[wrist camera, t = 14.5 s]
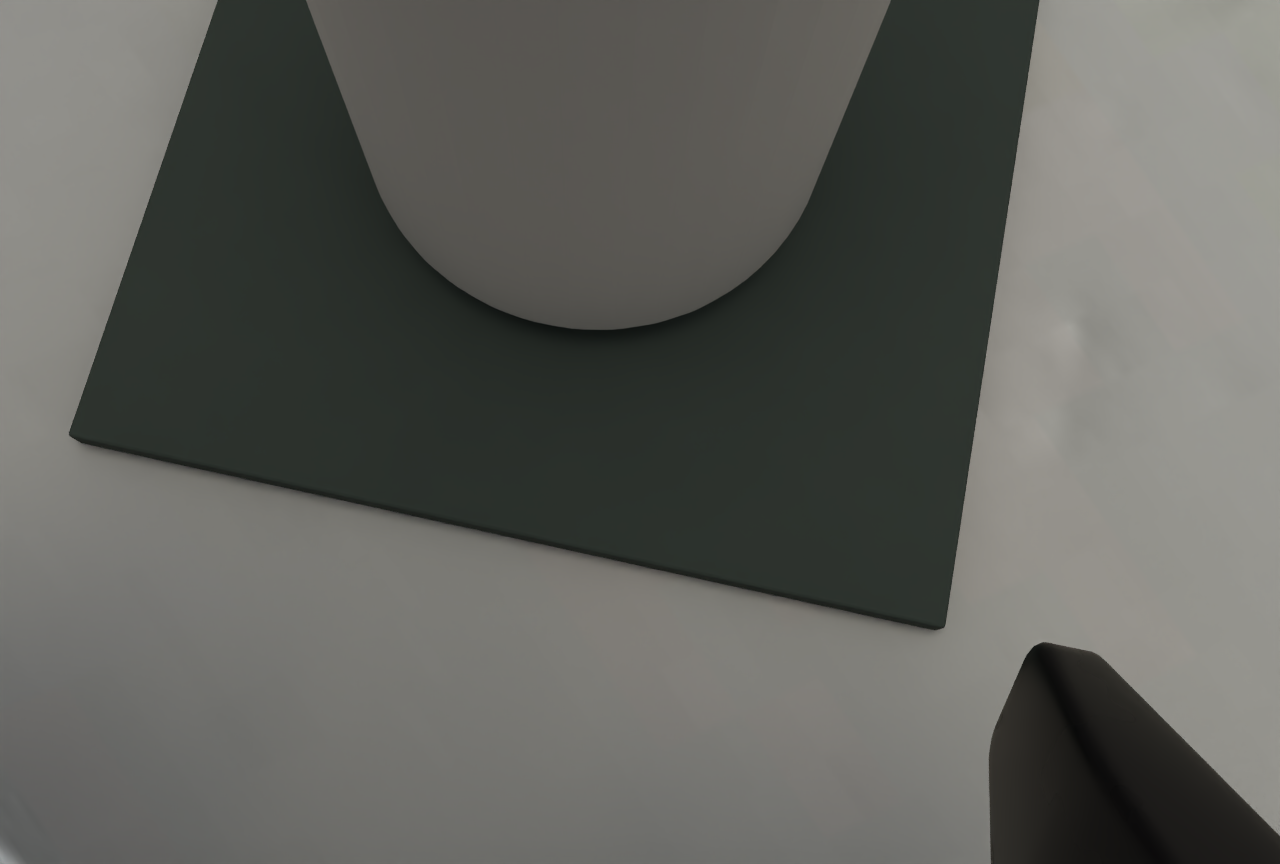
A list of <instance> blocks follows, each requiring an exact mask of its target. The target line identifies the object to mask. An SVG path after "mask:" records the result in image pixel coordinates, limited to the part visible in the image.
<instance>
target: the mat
mask: <svg viewBox="0 0 1280 864" xmlns="http://www.w3.org/2000/svg"><path fill="white" fill-rule="evenodd" d="M1038 5H1039V0H891V1H890V4H889V6H888V9H887V11H886V14H885V16H884V19H883V21H882V23H881V26H880V28H879V31H878V33H877V36H876V38H875V40H874V43H873V45H872V48H871V50H870V53H869V55H868V57H867V60H866V62H865V65H864V67H863V70H862V72H861V75H860V77H859V79H858V82H857V84H856V87H855V89H854V92H853V94H852V96H851V99H850V101H849V104H848V106H847V109H846V111H845V113H844V116H843V118H842V121H841V123H840V126H839V128H838V131H837V133H836V135H835V138H834V140H833V143H832V145H831V148H830V150H829V152H828V155H827V157H826V160H825V162H824V165H823V167H822V169H821V172H820V174H819V177H818V179H817V182H816V184H815V187H814V189H813V191H812V194H811V196H810V199H809V201H808V203H807V205H806V207H805V209H804V211H803V213H802V215H801V217H800V218H799V220H798V222H797V223H796V225H795V226H794V228H793V229H792V231H791V232H790V234H789V235H788V237H787V238H786V239H785V241H784V242H783V243H782V244H781V246H780V247H779V248H778V249H777V251H776V252H775V253H774V254H773V255H772V256H771V257H770V258H769V259H768V260H767V261H766V262H765V263H764V264H763V265H762V266H761V267H760V268H759V269H758V270H757V271H756V272H755V273H753V274H752V275H751V276H750V277H749V278H748V279H746V280H745V281H744V282H742V283H741V284H739V285H738V286H737V287H735V288H734V289H733V290H731V291H730V292H728V293H726V294H725V295H723V296H721V297H719V298H718V299H716V300H714V301H713V302H711V303H709V304H707V305H705V306H703V307H701V308H699V309H697V310H695V311H692V312H690V313H687V314H684V315H681V316H678V317H675V318H672V319H669V320H666V321H662V322H659V323H655V324H650V325H644V326H638V327H631V328H625V329H615V330H583V329H571V328H564V327H558V326H552V325H547V324H542V323H538V322H533V321H530V320H526V319H523V318H520V317H517V316H514V315H511V314H509V313H506V312H503V311H501V310H498V309H496V308H494V307H492V306H489V305H488V304H486V303H484V302H482V301H480V300H478V299H477V298H475V297H473V296H471V295H470V294H468V293H466V292H465V291H463V290H461V289H460V288H458V287H457V286H455V285H454V284H453V283H451V282H450V281H449V280H447V279H446V278H445V277H444V276H442V275H441V274H440V273H439V272H438V271H436V270H435V269H434V268H433V267H432V266H431V265H429V264H428V263H427V262H426V261H425V260H424V259H423V258H422V256H421V255H420V254H419V253H418V252H417V251H416V250H415V248H414V247H413V246H412V245H411V244H410V242H409V241H408V240H407V239H406V238H405V236H404V235H403V234H402V232H401V231H400V229H399V228H398V226H397V225H396V223H395V222H394V220H393V218H392V217H391V215H390V213H389V211H388V210H387V208H386V206H385V204H384V202H383V200H382V198H381V196H380V194H379V191H378V189H377V187H376V184H375V182H374V179H373V176H372V174H371V171H370V168H369V166H368V163H367V160H366V158H365V155H364V152H363V150H362V147H361V145H360V142H359V139H358V137H357V134H356V131H355V129H354V126H353V123H352V121H351V118H350V115H349V113H348V110H347V107H346V105H345V102H344V100H343V97H342V94H341V92H340V89H339V86H338V84H337V81H336V78H335V76H334V73H333V70H332V68H331V65H330V63H329V60H328V57H327V55H326V52H325V49H324V47H323V44H322V41H321V39H320V36H319V33H318V31H317V28H316V26H315V23H314V20H313V18H312V15H311V12H310V10H309V7H308V4H307V2H306V0H218V2H217V5H216V8H215V11H214V13H213V16H212V19H211V22H210V25H209V28H208V31H207V34H206V37H205V40H204V43H203V45H202V48H201V51H200V54H199V57H198V60H197V63H196V66H195V69H194V72H193V74H192V77H191V80H190V83H189V86H188V89H187V92H186V95H185V98H184V101H183V104H182V106H181V109H180V112H179V115H178V118H177V121H176V124H175V127H174V130H173V133H172V135H171V138H170V141H169V144H168V147H167V150H166V153H165V156H164V159H163V162H162V165H161V167H160V170H159V173H158V176H157V179H156V182H155V185H154V188H153V191H152V194H151V196H150V199H149V202H148V205H147V208H146V211H145V214H144V217H143V220H142V223H141V226H140V228H139V231H138V234H137V237H136V240H135V243H134V246H133V249H132V252H131V255H130V258H129V260H128V263H127V266H126V269H125V272H124V275H123V278H122V281H121V284H120V287H119V289H118V292H117V295H116V298H115V301H114V304H113V307H112V310H111V313H110V316H109V319H108V321H107V324H106V327H105V330H104V333H103V336H102V339H101V342H100V345H99V348H98V350H97V353H96V356H95V359H94V362H93V365H92V368H91V371H90V374H89V377H88V380H87V382H86V385H85V388H84V391H83V394H82V397H81V400H80V403H79V406H78V409H77V412H76V414H75V417H74V420H73V423H72V426H71V429H70V432H69V436H71V437H72V438H74V439H76V440H77V441H79V442H81V443H85V444H90V445H94V446H99V447H103V448H108V449H113V450H117V451H122V452H126V453H131V454H135V455H140V456H144V457H149V458H154V459H158V460H163V461H167V462H172V463H176V464H181V465H185V466H190V467H195V468H199V469H204V470H208V471H213V472H217V473H222V474H226V475H231V476H236V477H240V478H245V479H249V480H254V481H258V482H263V483H267V484H272V485H276V486H281V487H286V488H290V489H295V490H299V491H304V492H308V493H313V494H317V495H322V496H327V497H331V498H336V499H340V500H345V501H349V502H354V503H358V504H363V505H368V506H372V507H377V508H381V509H386V510H390V511H395V512H399V513H404V514H409V515H413V516H418V517H422V518H427V519H431V520H436V521H440V522H445V523H450V524H454V525H459V526H463V527H468V528H472V529H477V530H481V531H486V532H491V533H495V534H500V535H504V536H509V537H513V538H518V539H522V540H527V541H532V542H536V543H541V544H545V545H550V546H554V547H559V548H563V549H568V550H572V551H577V552H582V553H586V554H591V555H595V556H600V557H604V558H609V559H613V560H618V561H623V562H627V563H632V564H636V565H641V566H645V567H650V568H654V569H659V570H664V571H668V572H673V573H677V574H682V575H686V576H691V577H695V578H700V579H705V580H709V581H714V582H718V583H723V584H727V585H732V586H736V587H741V588H746V589H750V590H755V591H759V592H764V593H768V594H773V595H777V596H782V597H787V598H791V599H796V600H800V601H805V602H809V603H814V604H818V605H823V606H828V607H832V608H837V609H841V610H846V611H850V612H855V613H859V614H864V615H869V616H873V617H878V618H882V619H887V620H891V621H896V622H900V623H905V624H909V625H914V626H919V627H923V628H928V629H932V630H938V629H941V628H944V626H945V623H946V617H947V610H948V604H949V597H950V590H951V584H952V577H953V570H954V564H955V557H956V550H957V544H958V537H959V530H960V524H961V517H962V510H963V504H964V497H965V491H966V484H967V477H968V471H969V464H970V457H971V451H972V444H973V437H974V431H975V424H976V417H977V411H978V404H979V397H980V391H981V384H982V378H983V371H984V364H985V358H986V351H987V344H988V338H989V331H990V324H991V318H992V311H993V304H994V298H995V291H996V284H997V278H998V271H999V265H1000V258H1001V251H1002V245H1003V238H1004V231H1005V225H1006V218H1007V211H1008V205H1009V198H1010V191H1011V185H1012V178H1013V171H1014V165H1015V158H1016V152H1017V145H1018V138H1019V132H1020V125H1021V118H1022V112H1023V105H1024V98H1025V92H1026V85H1027V78H1028V72H1029V65H1030V58H1031V52H1032V45H1033V38H1034V32H1035V25H1036V19H1037V12H1038Z"/></svg>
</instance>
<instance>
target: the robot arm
mask: <svg viewBox="0 0 1280 864" xmlns="http://www.w3.org/2000/svg"><path fill="white" fill-rule="evenodd" d="M989 796H990V844H991V864H1280V836H1279V835H1278V834H1277V833H1276V832H1275V831H1274V830H1273V829H1272V828H1271V827H1270V826H1269V825H1268V824H1267V823H1266V822H1265V821H1264V820H1263V819H1262V818H1261V817H1260V816H1259V815H1258V814H1257V813H1256V812H1255V811H1254V810H1253V809H1252V808H1251V807H1250V806H1249V805H1248V804H1247V803H1246V802H1245V801H1244V800H1243V799H1242V798H1241V797H1240V796H1239V795H1238V794H1237V793H1236V792H1235V791H1234V790H1233V789H1232V788H1231V787H1230V786H1229V785H1228V784H1227V783H1226V782H1225V781H1224V779H1223V778H1222V777H1221V776H1220V775H1219V774H1218V773H1217V772H1216V771H1215V770H1214V769H1213V768H1212V767H1211V766H1210V765H1209V764H1208V763H1207V762H1206V761H1205V760H1204V759H1203V758H1202V757H1201V756H1200V755H1199V754H1198V753H1197V752H1196V751H1195V750H1194V749H1193V748H1192V747H1191V746H1190V745H1189V744H1188V743H1187V742H1186V741H1185V740H1184V739H1183V738H1182V737H1181V736H1180V735H1179V734H1178V733H1177V732H1176V731H1175V730H1174V729H1173V728H1172V727H1171V726H1170V725H1169V724H1168V723H1167V722H1166V721H1165V720H1164V719H1163V718H1162V717H1161V716H1160V715H1159V714H1158V713H1157V712H1156V711H1155V710H1154V709H1153V708H1152V707H1151V706H1150V705H1149V704H1148V703H1147V702H1146V701H1145V700H1144V699H1143V698H1142V697H1141V696H1140V695H1139V694H1138V693H1137V692H1136V691H1135V690H1134V689H1133V688H1132V687H1131V686H1130V685H1129V684H1128V683H1127V682H1126V681H1125V680H1124V679H1123V678H1122V677H1121V676H1120V675H1119V674H1118V673H1117V672H1116V671H1115V670H1114V669H1113V668H1112V667H1111V666H1110V665H1109V664H1108V663H1107V662H1106V661H1105V660H1104V659H1102V658H1101V657H1100V656H1099V655H1097V654H1095V653H1093V652H1090V651H1086V650H1081V649H1076V648H1071V647H1066V646H1061V645H1057V644H1052V643H1047V642H1043V643H1040V644H1038V645H1036V646H1034V647H1033V648H1032V649H1031V650H1030V652H1029V653H1028V654H1027V656H1026V658H1025V660H1024V662H1023V664H1022V666H1021V669H1020V671H1019V673H1018V675H1017V678H1016V680H1015V682H1014V685H1013V687H1012V689H1011V692H1010V694H1009V696H1008V698H1007V701H1006V703H1005V705H1004V708H1003V710H1002V712H1001V714H1000V717H999V719H998V721H997V724H996V726H995V729H994V732H993V736H992V739H991V745H990V752H989Z"/></svg>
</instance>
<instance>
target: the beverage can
mask: <svg viewBox="0 0 1280 864" xmlns="http://www.w3.org/2000/svg"><path fill="white" fill-rule="evenodd" d="M890 1H891V0H306V2H307V4H308V7H309V10H310V12H311V15H312V18H313V20H314V23H315V26H316V28H317V31H318V33H319V36H320V39H321V41H322V44H323V47H324V49H325V52H326V55H327V57H328V60H329V63H330V65H331V68H332V70H333V73H334V76H335V78H336V81H337V84H338V86H339V89H340V92H341V94H342V97H343V100H344V102H345V105H346V107H347V110H348V113H349V115H350V118H351V121H352V123H353V126H354V129H355V131H356V134H357V137H358V139H359V142H360V145H361V147H362V150H363V152H364V155H365V158H366V160H367V163H368V166H369V168H370V171H371V174H372V176H373V179H374V182H375V184H376V187H377V189H378V191H379V194H380V196H381V198H382V200H383V202H384V204H385V206H386V208H387V210H388V211H389V213H390V215H391V217H392V218H393V220H394V222H395V223H396V225H397V226H398V228H399V229H400V231H401V232H402V234H403V235H404V236H405V238H406V239H407V240H408V241H409V242H410V244H411V245H412V246H413V247H414V248H415V250H416V251H417V252H418V253H419V254H420V255H421V256H422V258H423V259H424V260H425V261H426V262H427V263H428V264H429V265H431V266H432V267H433V268H434V269H435V270H436V271H438V272H439V273H440V274H441V275H442V276H444V277H445V278H446V279H447V280H449V281H450V282H451V283H453V284H454V285H455V286H457V287H458V288H460V289H461V290H463V291H465V292H466V293H468V294H470V295H471V296H473V297H475V298H477V299H478V300H480V301H482V302H484V303H486V304H488V305H489V306H492V307H494V308H496V309H498V310H501V311H503V312H506V313H509V314H511V315H514V316H517V317H520V318H523V319H526V320H530V321H533V322H538V323H542V324H547V325H552V326H558V327H564V328H571V329H583V330H615V329H625V328H631V327H638V326H644V325H650V324H655V323H659V322H662V321H666V320H669V319H672V318H675V317H678V316H681V315H684V314H687V313H690V312H692V311H695V310H697V309H699V308H701V307H703V306H705V305H707V304H709V303H711V302H713V301H714V300H716V299H718V298H719V297H721V296H723V295H725V294H726V293H728V292H730V291H731V290H733V289H734V288H735V287H737V286H738V285H739V284H741V283H742V282H744V281H745V280H746V279H748V278H749V277H750V276H751V275H752V274H753V273H755V272H756V271H757V270H758V269H759V268H760V267H761V266H762V265H763V264H764V263H765V262H766V261H767V260H768V259H769V258H770V257H771V256H772V255H773V254H774V253H775V252H776V251H777V249H778V248H779V247H780V246H781V244H782V243H783V242H784V241H785V239H786V238H787V237H788V235H789V234H790V232H791V231H792V229H793V228H794V226H795V225H796V223H797V222H798V220H799V218H800V217H801V215H802V213H803V211H804V209H805V207H806V205H807V203H808V201H809V199H810V196H811V194H812V191H813V189H814V187H815V184H816V182H817V179H818V177H819V174H820V172H821V169H822V167H823V165H824V162H825V160H826V157H827V155H828V152H829V150H830V148H831V145H832V143H833V140H834V138H835V135H836V133H837V131H838V128H839V126H840V123H841V121H842V118H843V116H844V113H845V111H846V109H847V106H848V104H849V101H850V99H851V96H852V94H853V92H854V89H855V87H856V84H857V82H858V79H859V77H860V75H861V72H862V70H863V67H864V65H865V62H866V60H867V57H868V55H869V53H870V50H871V48H872V45H873V43H874V40H875V38H876V36H877V33H878V31H879V28H880V26H881V23H882V21H883V19H884V16H885V14H886V11H887V9H888V6H889V4H890Z"/></svg>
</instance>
